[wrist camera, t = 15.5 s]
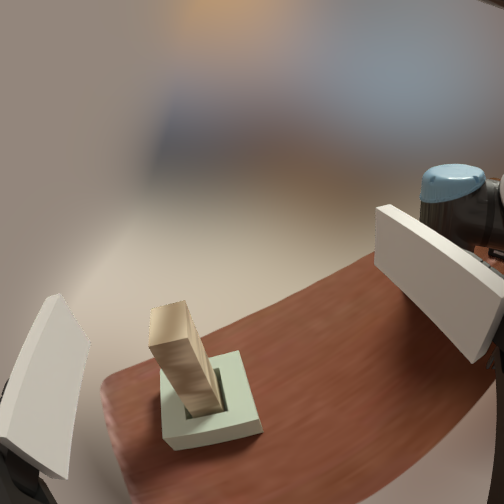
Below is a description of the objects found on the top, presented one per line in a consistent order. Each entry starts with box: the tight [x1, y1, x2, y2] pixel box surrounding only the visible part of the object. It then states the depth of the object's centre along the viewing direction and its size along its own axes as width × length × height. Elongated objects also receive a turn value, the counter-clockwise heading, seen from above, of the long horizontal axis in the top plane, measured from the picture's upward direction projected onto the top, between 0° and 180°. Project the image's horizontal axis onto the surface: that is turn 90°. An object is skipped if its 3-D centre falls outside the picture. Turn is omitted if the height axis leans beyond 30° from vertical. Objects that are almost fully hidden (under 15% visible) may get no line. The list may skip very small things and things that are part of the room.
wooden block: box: [148, 300, 226, 418], centre depth 32 cm, size 4×6×16 cm, turn 13°
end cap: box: [160, 350, 263, 451], centre depth 36 cm, size 12×12×4 cm
